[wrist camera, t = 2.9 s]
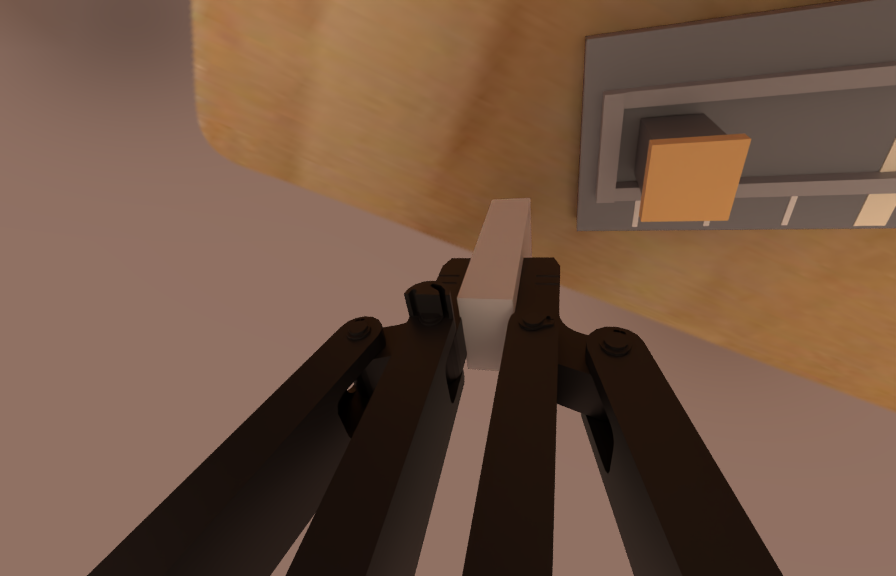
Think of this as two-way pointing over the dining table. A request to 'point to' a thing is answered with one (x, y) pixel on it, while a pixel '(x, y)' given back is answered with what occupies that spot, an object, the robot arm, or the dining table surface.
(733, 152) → the fader tab
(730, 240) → the dining table surface
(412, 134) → the dining table surface
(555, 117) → the dining table surface
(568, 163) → the dining table surface
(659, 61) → the console board
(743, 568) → the robot arm
